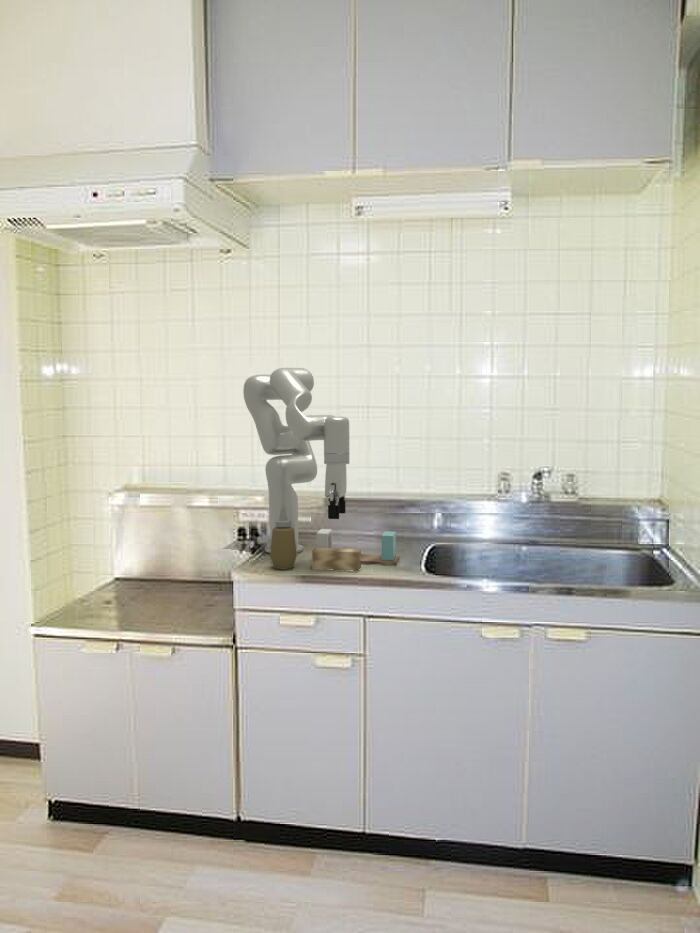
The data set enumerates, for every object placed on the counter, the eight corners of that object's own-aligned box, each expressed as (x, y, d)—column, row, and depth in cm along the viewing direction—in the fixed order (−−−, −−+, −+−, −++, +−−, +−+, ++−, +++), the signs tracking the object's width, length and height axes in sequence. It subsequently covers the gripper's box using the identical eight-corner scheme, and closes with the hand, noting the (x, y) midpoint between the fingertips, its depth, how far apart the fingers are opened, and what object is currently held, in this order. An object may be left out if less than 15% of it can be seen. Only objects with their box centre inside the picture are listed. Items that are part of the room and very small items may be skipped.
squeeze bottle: (292, 571, 219) (292, 511, 217) (266, 570, 220) (265, 510, 218) (300, 565, 227) (299, 506, 225) (274, 563, 228) (274, 506, 226)
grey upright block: (316, 558, 231) (316, 533, 230) (321, 553, 238) (321, 528, 237) (327, 558, 231) (327, 533, 230) (332, 553, 237) (332, 529, 237)
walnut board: (312, 561, 231) (312, 554, 230) (319, 555, 239) (319, 548, 239) (395, 565, 226) (395, 558, 226) (399, 558, 235) (399, 551, 234)
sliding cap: (381, 560, 227) (381, 535, 227) (384, 554, 234) (384, 531, 233) (393, 560, 227) (393, 536, 226) (395, 555, 234) (395, 531, 233)
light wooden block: (312, 570, 222) (312, 550, 221) (315, 566, 225) (315, 547, 225) (358, 572, 219) (358, 552, 218) (360, 569, 223) (360, 549, 222)
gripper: (330, 455, 227) (330, 510, 229) (317, 461, 211) (318, 520, 212) (354, 456, 226) (354, 511, 228) (343, 461, 209) (343, 521, 211)
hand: (337, 515), depth 220 cm, fingers open, 9 cm apart
